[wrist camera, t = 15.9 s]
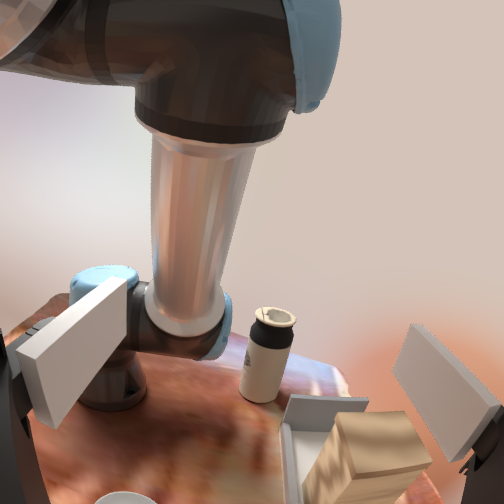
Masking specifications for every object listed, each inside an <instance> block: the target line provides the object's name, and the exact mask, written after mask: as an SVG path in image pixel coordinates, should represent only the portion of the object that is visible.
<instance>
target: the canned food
mask: <svg viewBox="0 0 504 504" xmlns="http://www.w3.org/2000/svg"><path fill="white" fill-rule="evenodd" d="M95 504H157V503H156V502H154V501H153V500H151V499H150V498H148V497H146V496H144V495H141V494H138V493H134V492H126V491H122V492H114V493H110V494H107V495H105V496H103V497H101V498H100V499H98V500H97V502H96V503H95Z"/></svg>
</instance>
